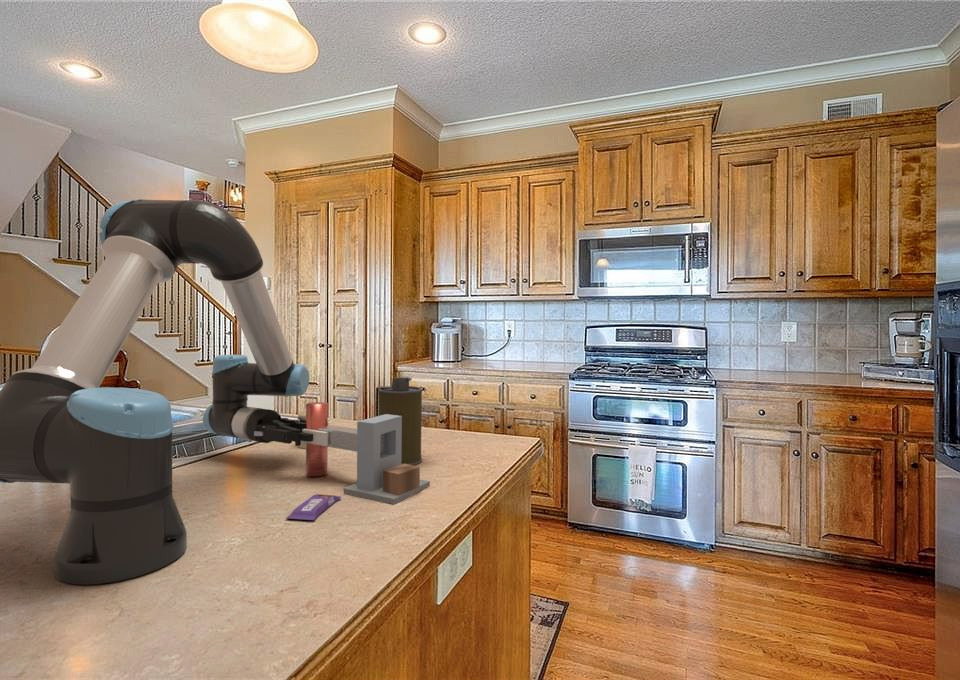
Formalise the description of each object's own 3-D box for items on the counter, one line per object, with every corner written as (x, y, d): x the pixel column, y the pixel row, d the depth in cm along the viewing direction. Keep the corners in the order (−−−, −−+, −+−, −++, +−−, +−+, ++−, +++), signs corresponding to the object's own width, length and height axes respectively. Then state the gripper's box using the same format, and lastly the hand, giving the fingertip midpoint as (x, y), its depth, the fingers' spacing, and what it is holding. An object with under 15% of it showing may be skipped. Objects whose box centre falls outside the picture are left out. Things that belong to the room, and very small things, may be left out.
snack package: (313, 514, 86) (285, 512, 87) (313, 526, 86) (285, 524, 87) (342, 491, 97) (317, 490, 98) (342, 501, 97) (317, 500, 98)
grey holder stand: (394, 504, 95) (394, 428, 94) (343, 493, 100) (343, 421, 100) (429, 486, 105) (430, 417, 105) (382, 477, 111) (382, 412, 110)
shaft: (371, 488, 102) (372, 412, 101) (301, 474, 110) (301, 404, 110) (385, 482, 106) (386, 409, 105) (316, 469, 114) (316, 401, 114)
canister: (425, 456, 128) (426, 375, 127) (416, 468, 118) (417, 380, 117) (382, 454, 129) (383, 374, 128) (369, 466, 119) (370, 379, 118)
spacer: (382, 491, 99) (398, 495, 97) (383, 470, 99) (398, 474, 96) (404, 483, 104) (419, 487, 102) (404, 463, 104) (419, 466, 101)
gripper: (288, 433, 127) (362, 445, 116) (224, 449, 112) (303, 464, 101) (288, 403, 127) (363, 412, 116) (224, 414, 111) (303, 426, 101)
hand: (335, 436), depth 109 cm, fingers closed on shaft, 4 cm apart
